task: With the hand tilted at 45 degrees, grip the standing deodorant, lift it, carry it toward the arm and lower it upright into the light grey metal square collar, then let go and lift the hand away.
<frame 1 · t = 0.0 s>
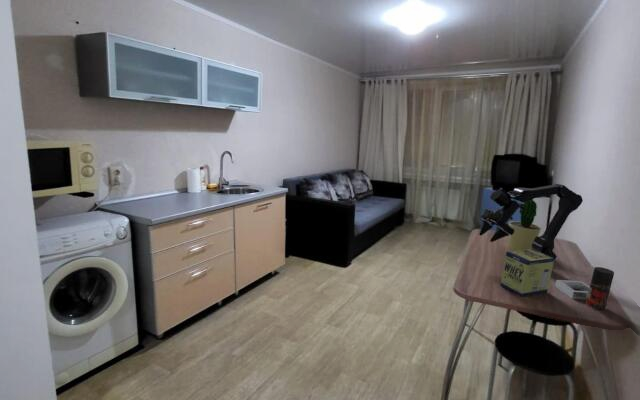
hand: (485, 238, 162), 15 cm above the table, tool tilted 35°, fingers open, 9 cm apart
potted cactus: (519, 250, 193), on the table
protein box: (523, 289, 146), on the table
collar: (576, 293, 144), on the table
deodorant: (595, 306, 134), on the table
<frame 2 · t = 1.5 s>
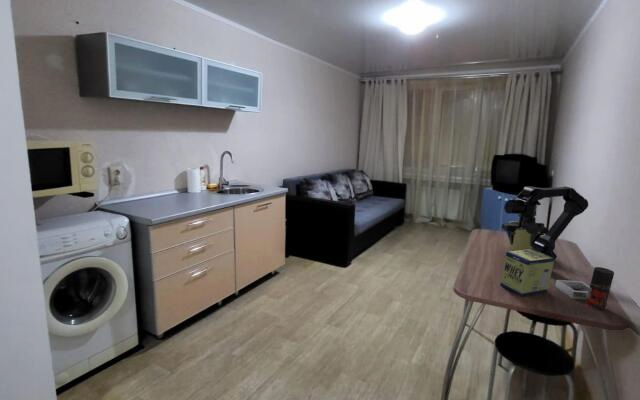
hand: (521, 245, 164), 12 cm above the table, tool pointing down, fingers open, 9 cm apart
nothing on the table moved.
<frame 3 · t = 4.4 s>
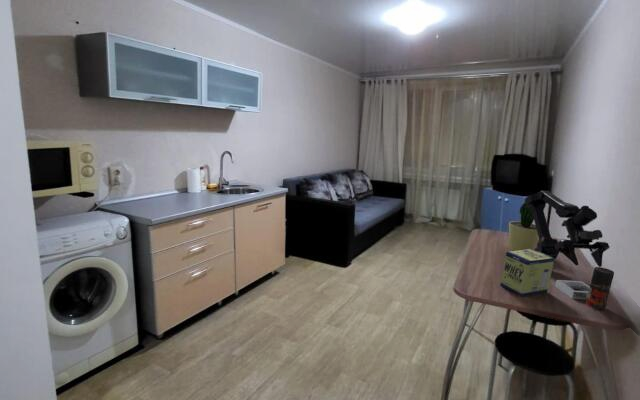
hand: (588, 265, 138), 14 cm above the table, tool tilted 45°, fingers open, 9 cm apart
nothing on the table moved.
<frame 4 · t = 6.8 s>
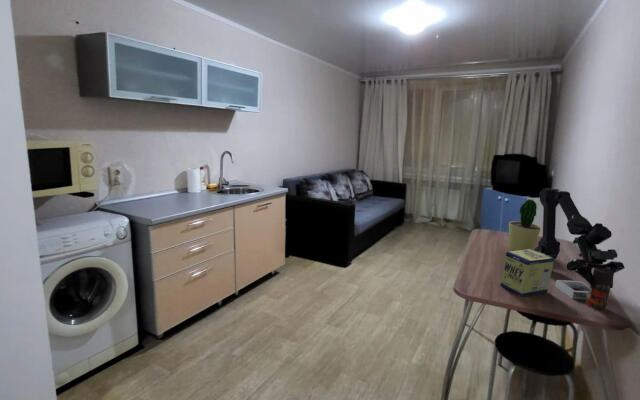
hand: (603, 287, 131), 9 cm above the table, tool tilted 45°, fingers closed on deodorant, 6 cm apart
deodorant: (595, 306, 134), on the table, touching gripper
everything else where it was.
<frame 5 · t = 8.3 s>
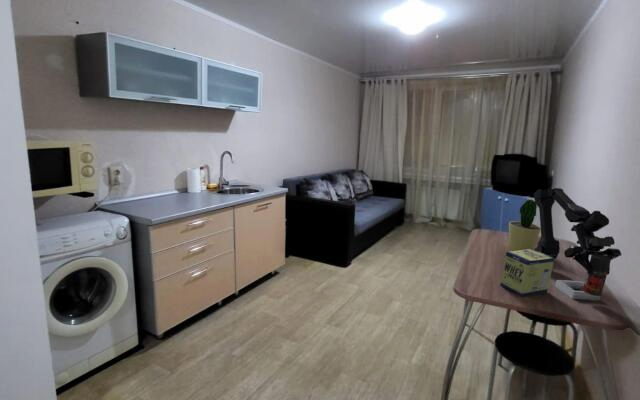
hand: (599, 273, 133), 13 cm above the table, tool tilted 45°, fingers closed on deodorant, 6 cm apart
deodorant: (591, 292, 136), point 4 cm above the table, touching gripper
everything else where it was.
when the fingers open (10 cm above the table, at t = 10.2 s): deodorant drops 1 cm, resting in collar.
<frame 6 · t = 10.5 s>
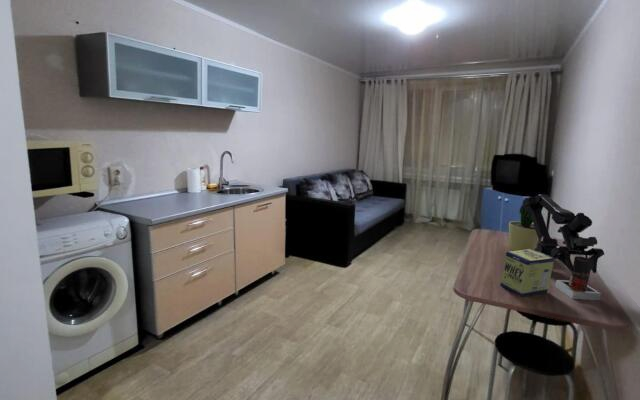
hand: (584, 272, 141), 10 cm above the table, tool tilted 45°, fingers open, 9 cm apart
deodorant: (575, 293, 145), resting in collar
everything else where it was.
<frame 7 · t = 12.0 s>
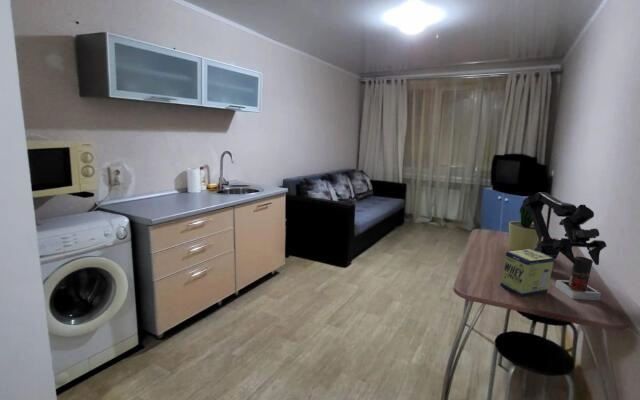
hand: (586, 264, 140), 14 cm above the table, tool tilted 45°, fingers open, 9 cm apart
nothing on the table moved.
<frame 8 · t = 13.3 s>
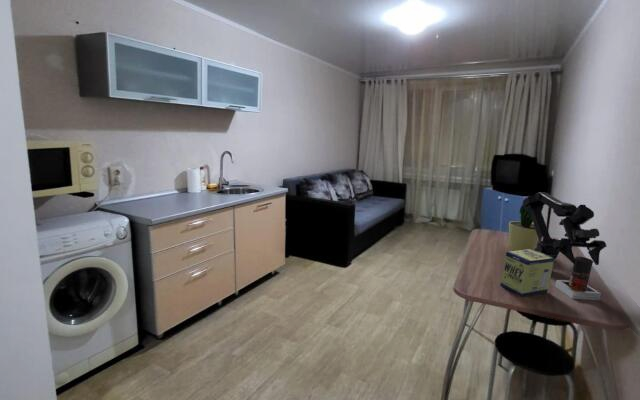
hand: (586, 264, 140), 14 cm above the table, tool tilted 45°, fingers open, 9 cm apart
nothing on the table moved.
at the end: deodorant 0.2 cm off-centre on the collar, point 0.0 cm above the collar's base; deodorant tilted 0°; the gripper is holding nothing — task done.
